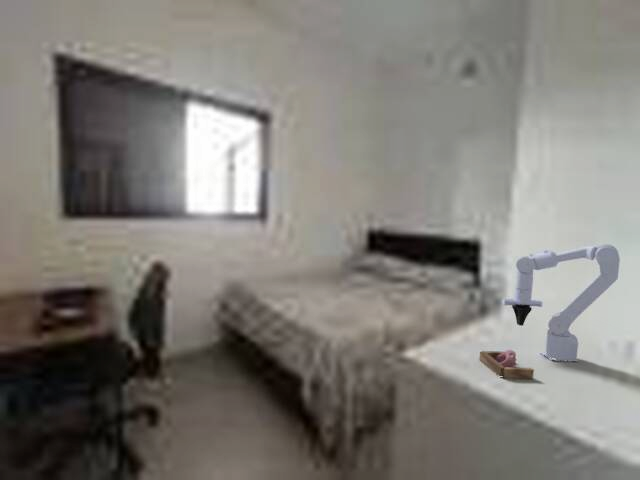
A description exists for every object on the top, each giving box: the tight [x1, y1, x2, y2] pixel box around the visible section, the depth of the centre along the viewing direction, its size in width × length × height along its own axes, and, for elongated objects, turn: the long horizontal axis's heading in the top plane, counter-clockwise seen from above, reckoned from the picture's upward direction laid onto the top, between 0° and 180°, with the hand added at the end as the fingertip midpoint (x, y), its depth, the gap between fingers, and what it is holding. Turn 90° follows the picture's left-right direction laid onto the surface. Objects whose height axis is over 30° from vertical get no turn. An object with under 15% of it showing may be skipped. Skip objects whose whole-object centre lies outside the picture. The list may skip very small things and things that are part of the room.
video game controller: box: [495, 349, 517, 367], centre depth 143 cm, size 10×5×7 cm, turn 160°
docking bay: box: [479, 350, 535, 380], centre depth 141 cm, size 10×16×3 cm, turn 4°
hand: (519, 324), depth 162 cm, fingers closed
